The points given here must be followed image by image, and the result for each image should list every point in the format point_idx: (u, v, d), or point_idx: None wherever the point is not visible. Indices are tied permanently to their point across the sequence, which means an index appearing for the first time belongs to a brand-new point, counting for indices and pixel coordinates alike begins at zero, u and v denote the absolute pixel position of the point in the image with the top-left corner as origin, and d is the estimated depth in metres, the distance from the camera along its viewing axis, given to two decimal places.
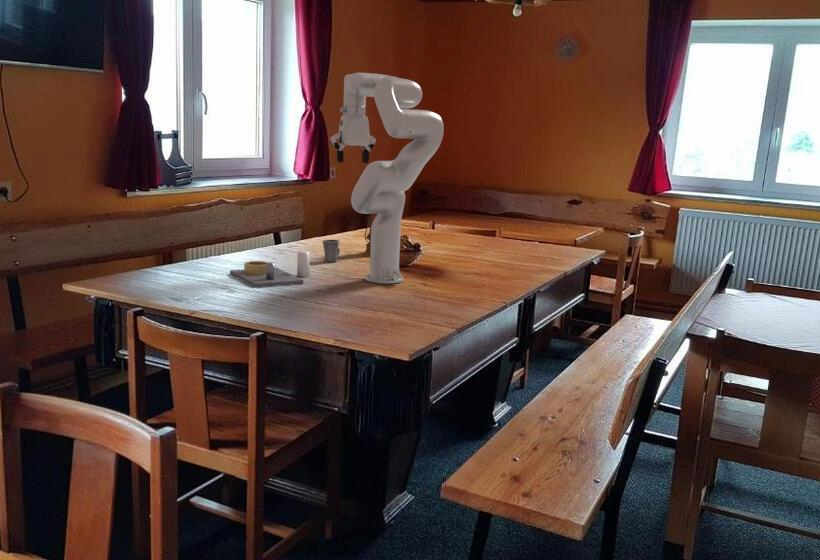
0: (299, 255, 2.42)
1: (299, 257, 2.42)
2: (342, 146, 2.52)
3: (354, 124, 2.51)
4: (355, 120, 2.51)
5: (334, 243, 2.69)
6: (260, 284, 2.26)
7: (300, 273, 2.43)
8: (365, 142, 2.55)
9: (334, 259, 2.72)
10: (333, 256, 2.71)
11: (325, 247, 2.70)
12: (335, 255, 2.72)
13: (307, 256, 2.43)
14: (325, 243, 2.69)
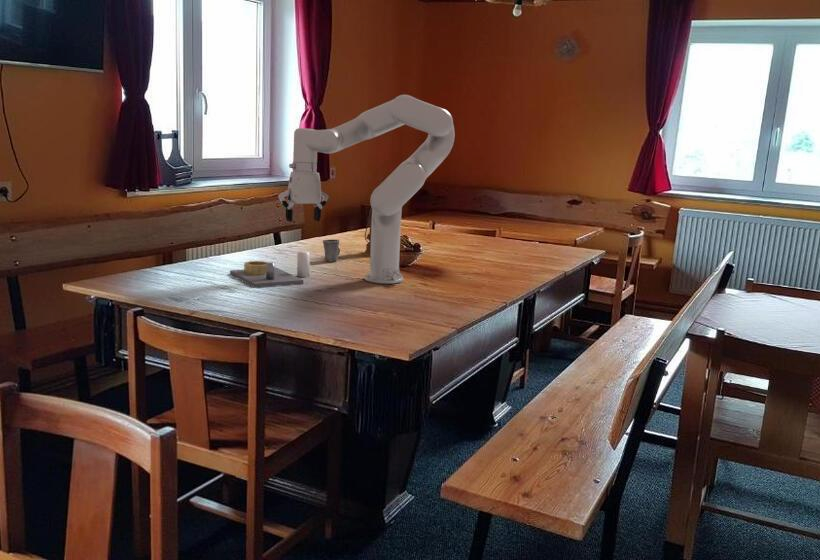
0: (299, 255, 2.42)
1: (299, 257, 2.42)
2: (291, 204, 2.37)
3: (304, 182, 2.36)
4: (305, 177, 2.36)
5: (334, 243, 2.70)
6: (260, 284, 2.26)
7: (300, 273, 2.43)
8: (316, 200, 2.40)
9: (334, 259, 2.72)
10: (333, 256, 2.71)
11: (325, 247, 2.71)
12: (335, 255, 2.72)
13: (307, 256, 2.43)
14: (325, 243, 2.70)
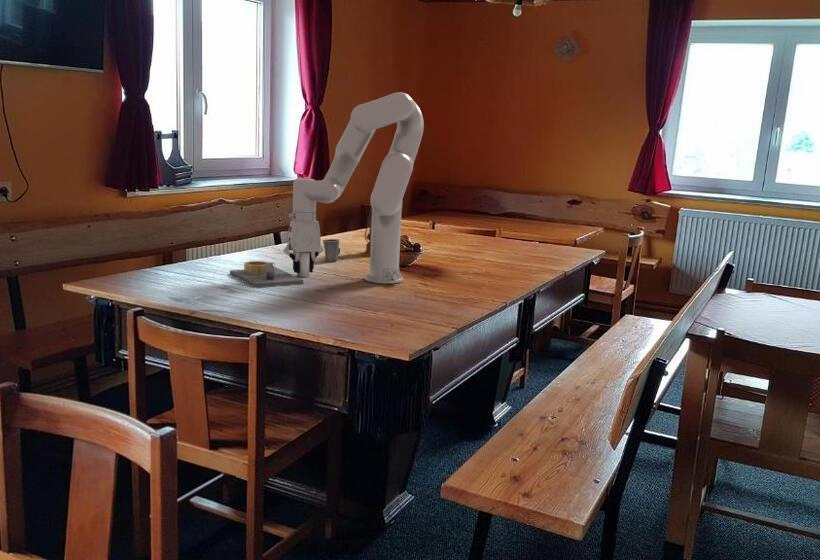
0: (299, 255, 2.42)
1: (299, 257, 2.42)
2: (297, 256, 2.41)
3: (304, 231, 2.39)
4: (304, 226, 2.39)
5: (334, 243, 2.70)
6: (260, 284, 2.26)
7: (300, 273, 2.43)
8: (316, 248, 2.43)
9: (334, 259, 2.73)
10: (333, 256, 2.72)
11: (325, 247, 2.71)
12: (335, 255, 2.72)
13: (307, 256, 2.43)
14: (325, 243, 2.70)
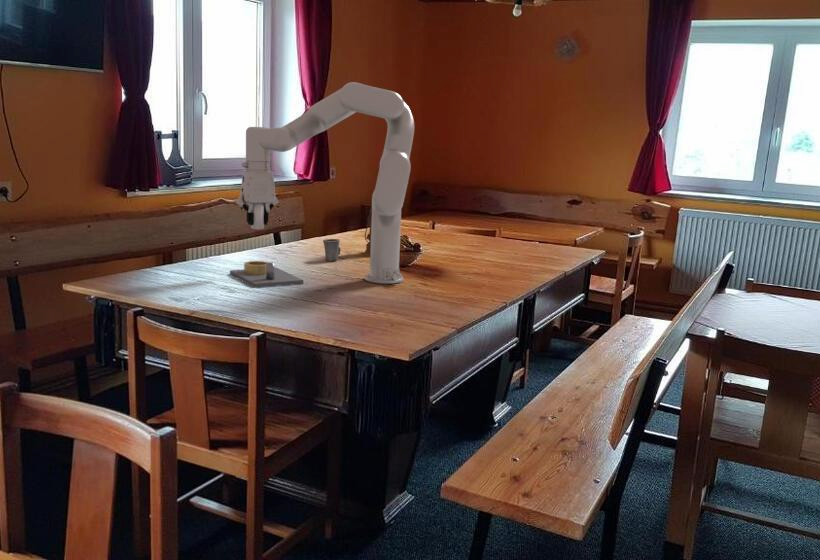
0: (253, 206, 2.36)
1: (253, 208, 2.36)
2: (250, 207, 2.35)
3: (257, 181, 2.33)
4: (258, 176, 2.33)
5: (334, 242, 2.71)
6: (260, 284, 2.26)
7: (254, 225, 2.37)
8: (270, 199, 2.36)
9: (334, 258, 2.73)
10: (333, 255, 2.73)
11: (325, 246, 2.72)
12: (335, 254, 2.73)
13: (261, 207, 2.36)
14: (325, 242, 2.71)
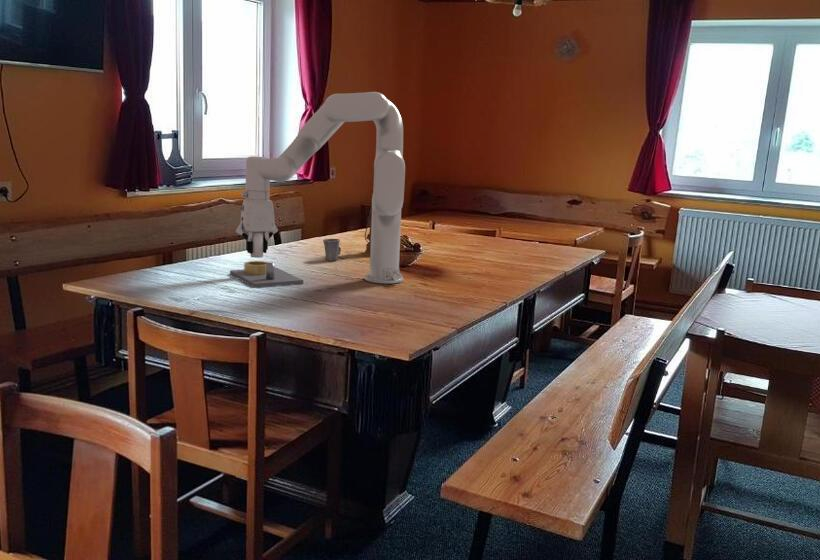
0: (252, 235, 2.38)
1: (252, 237, 2.38)
2: (250, 236, 2.37)
3: (257, 210, 2.35)
4: (257, 205, 2.34)
5: (334, 242, 2.71)
6: (260, 284, 2.26)
7: (253, 253, 2.38)
8: (269, 228, 2.38)
9: (334, 258, 2.74)
10: (333, 255, 2.73)
11: (326, 246, 2.72)
12: (335, 254, 2.73)
13: (260, 236, 2.38)
14: (325, 242, 2.71)
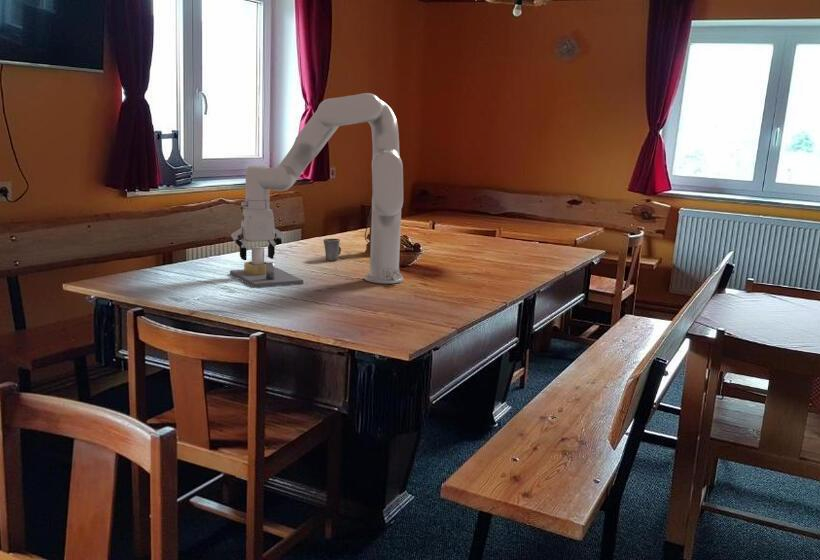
0: (253, 251, 2.39)
1: (253, 253, 2.39)
2: (244, 243, 2.36)
3: (257, 220, 2.35)
4: (257, 215, 2.35)
5: (334, 242, 2.72)
6: (260, 284, 2.26)
7: None
8: (270, 237, 2.39)
9: (335, 258, 2.74)
10: (333, 255, 2.73)
11: (326, 246, 2.73)
12: (336, 254, 2.74)
13: (261, 252, 2.39)
14: (326, 242, 2.72)
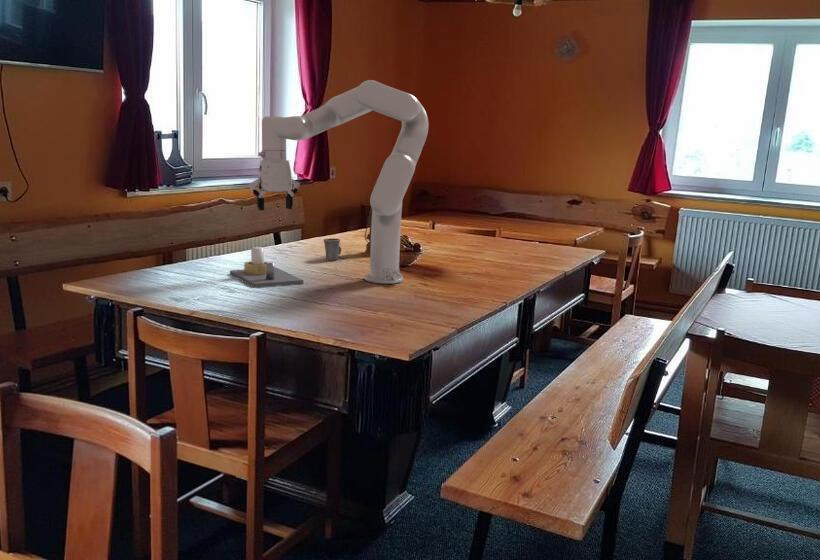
0: (253, 251, 2.39)
1: (253, 253, 2.39)
2: (262, 193, 2.37)
3: (274, 170, 2.36)
4: (275, 165, 2.36)
5: (335, 242, 2.72)
6: (260, 284, 2.26)
7: None
8: (287, 187, 2.40)
9: (335, 258, 2.74)
10: (334, 255, 2.74)
11: (326, 246, 2.73)
12: (336, 254, 2.74)
13: (261, 252, 2.39)
14: (326, 242, 2.72)
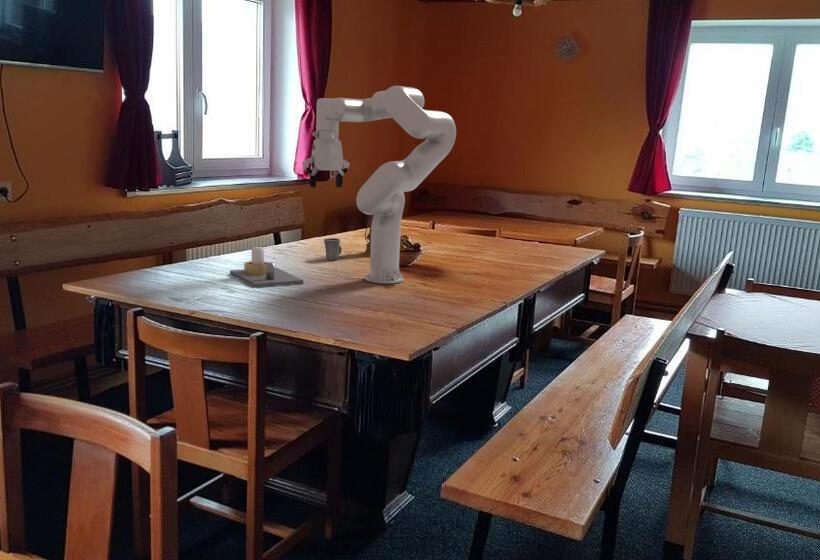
0: (253, 251, 2.39)
1: (253, 253, 2.39)
2: (314, 171, 2.49)
3: (327, 149, 2.48)
4: (328, 144, 2.48)
5: (335, 242, 2.73)
6: (260, 284, 2.26)
7: None
8: (338, 167, 2.51)
9: (335, 257, 2.75)
10: (334, 254, 2.74)
11: (326, 245, 2.74)
12: (336, 253, 2.75)
13: (262, 252, 2.39)
14: (326, 241, 2.73)
